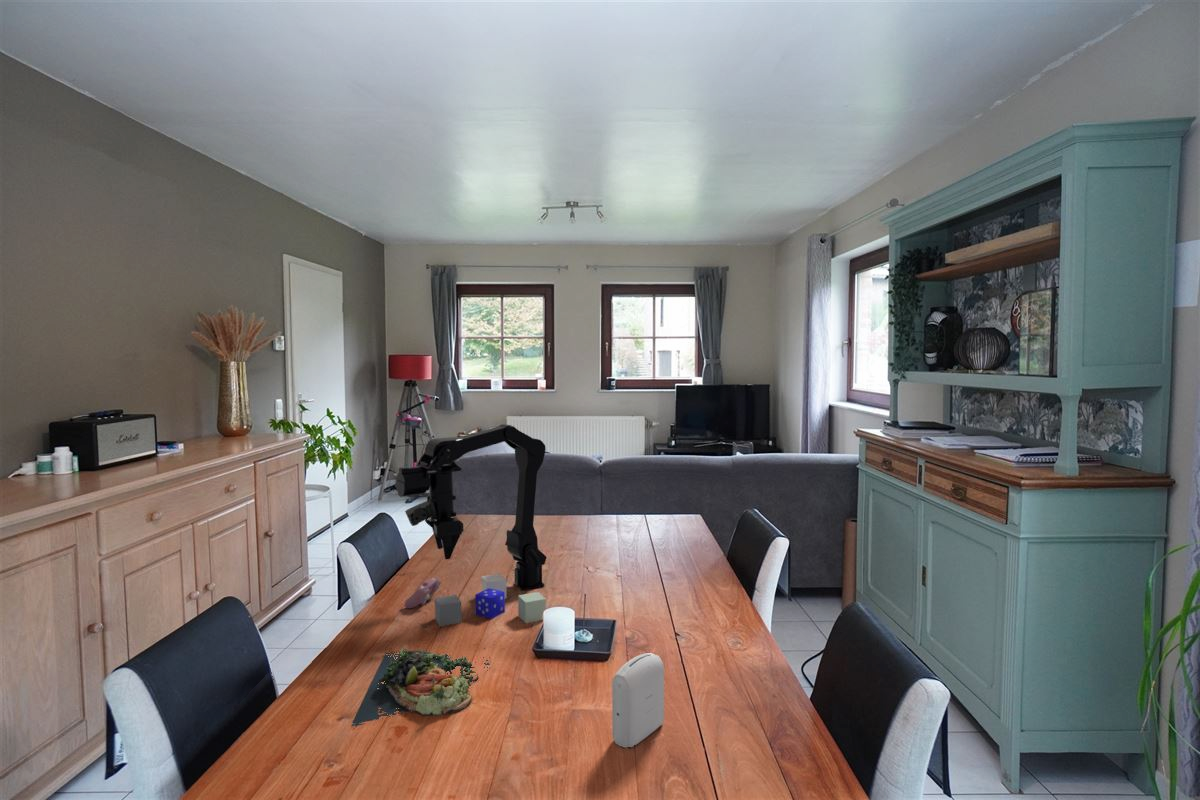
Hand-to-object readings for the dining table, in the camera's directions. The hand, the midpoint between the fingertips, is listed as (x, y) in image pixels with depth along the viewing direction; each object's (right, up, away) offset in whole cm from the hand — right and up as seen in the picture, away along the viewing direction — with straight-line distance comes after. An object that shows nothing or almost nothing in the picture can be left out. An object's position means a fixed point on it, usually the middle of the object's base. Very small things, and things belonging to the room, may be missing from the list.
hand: (443, 553), depth 158 cm
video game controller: (-6, -13, +3) cm, 15 cm away
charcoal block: (+3, -14, -8) cm, 16 cm away
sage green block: (+22, -14, -7) cm, 27 cm away
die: (+12, -14, -4) cm, 19 cm away
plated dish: (+7, -16, -38) cm, 42 cm away
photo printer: (+44, -16, -54) cm, 72 cm away
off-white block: (+11, -13, +7) cm, 18 cm away
